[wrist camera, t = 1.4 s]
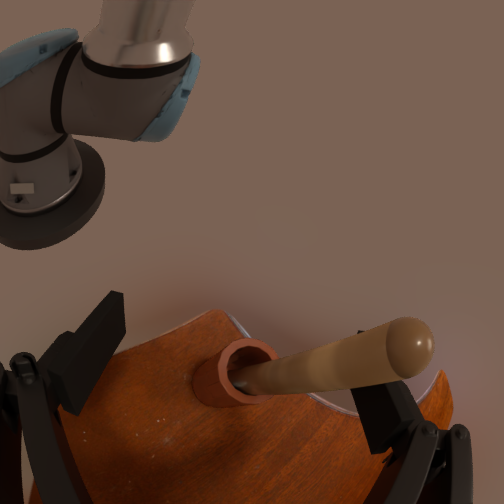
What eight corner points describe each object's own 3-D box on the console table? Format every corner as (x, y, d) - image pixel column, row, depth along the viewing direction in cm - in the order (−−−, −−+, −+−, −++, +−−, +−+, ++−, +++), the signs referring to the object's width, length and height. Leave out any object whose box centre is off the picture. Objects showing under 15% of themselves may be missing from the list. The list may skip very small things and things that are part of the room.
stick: (203, 382, 26) (404, 342, 7) (219, 368, 28) (421, 295, 9) (219, 398, 26) (435, 385, 7) (234, 383, 28) (449, 337, 8)
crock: (181, 383, 26) (203, 368, 19) (216, 351, 30) (249, 324, 22) (217, 418, 26) (254, 418, 18) (249, 384, 29) (294, 369, 22)
